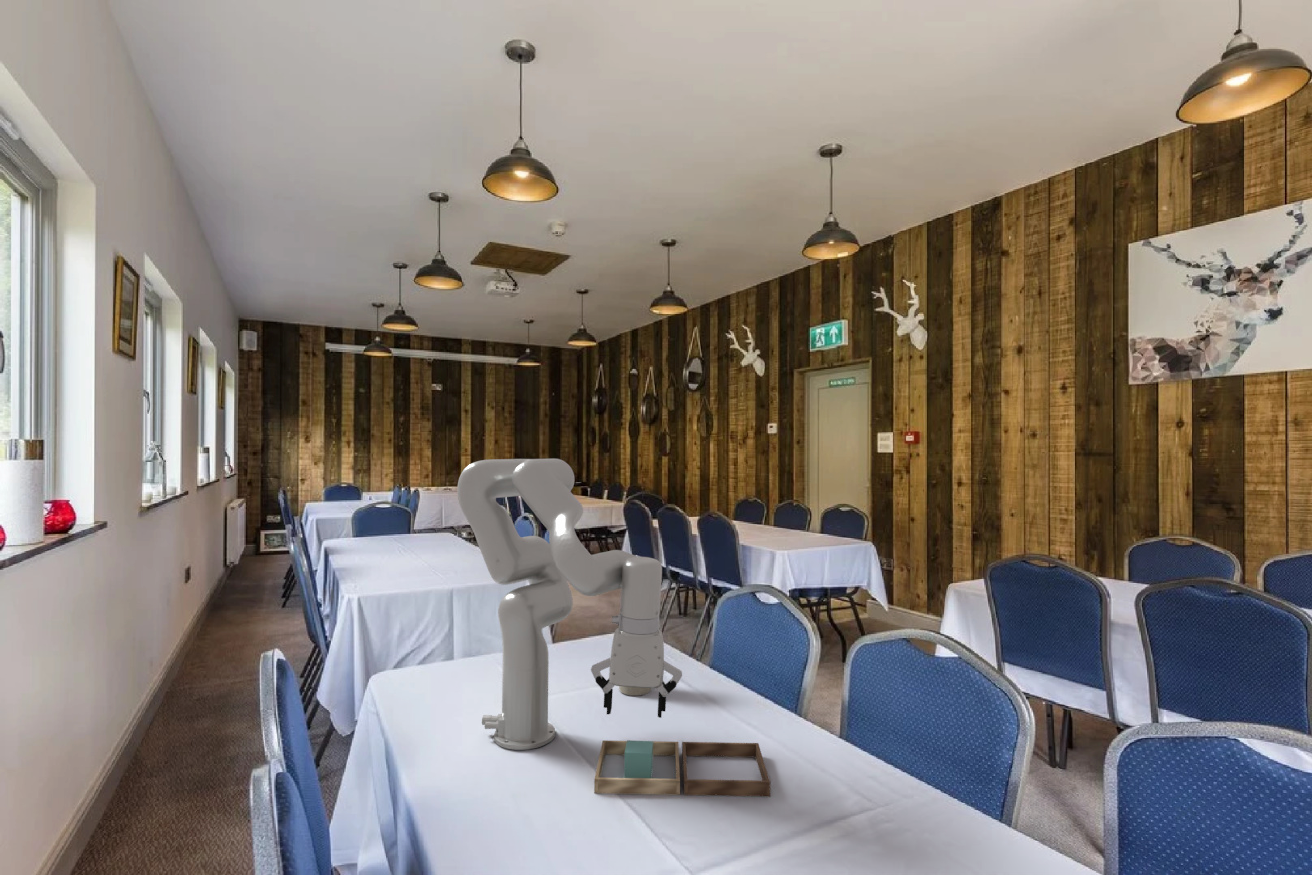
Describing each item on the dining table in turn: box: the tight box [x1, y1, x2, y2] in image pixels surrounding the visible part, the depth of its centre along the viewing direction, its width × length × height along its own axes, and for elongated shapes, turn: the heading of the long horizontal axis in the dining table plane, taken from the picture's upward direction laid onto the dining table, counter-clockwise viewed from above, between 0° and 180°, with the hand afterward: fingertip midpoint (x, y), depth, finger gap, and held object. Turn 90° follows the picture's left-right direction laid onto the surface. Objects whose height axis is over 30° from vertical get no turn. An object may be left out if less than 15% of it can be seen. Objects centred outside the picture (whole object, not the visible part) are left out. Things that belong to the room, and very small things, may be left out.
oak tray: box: [593, 739, 681, 796], centre depth 125 cm, size 15×15×2 cm
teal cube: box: [623, 739, 654, 778], centre depth 125 cm, size 5×5×5 cm
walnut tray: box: [681, 741, 771, 797], centre depth 124 cm, size 15×15×2 cm
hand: (634, 712), depth 125 cm, fingers open, 9 cm apart
